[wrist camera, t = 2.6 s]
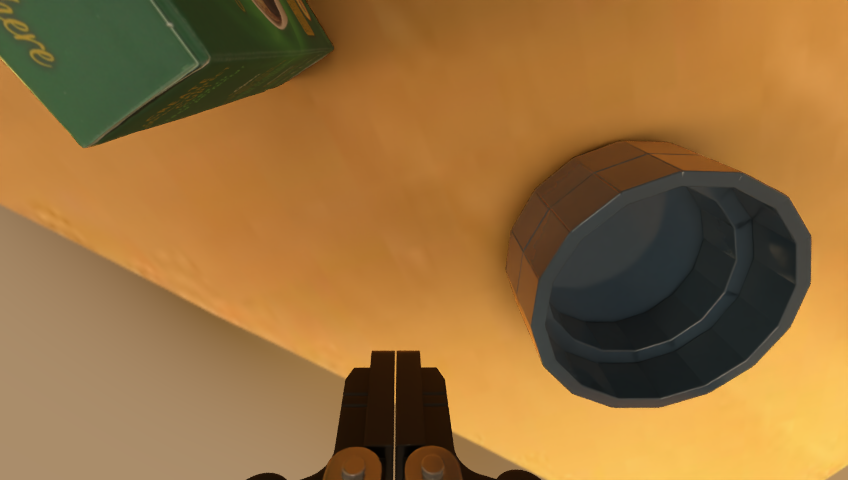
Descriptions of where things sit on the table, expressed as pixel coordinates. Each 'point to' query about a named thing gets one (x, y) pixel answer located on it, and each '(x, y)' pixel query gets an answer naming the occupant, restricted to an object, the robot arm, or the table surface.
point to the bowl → (655, 273)
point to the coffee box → (152, 57)
